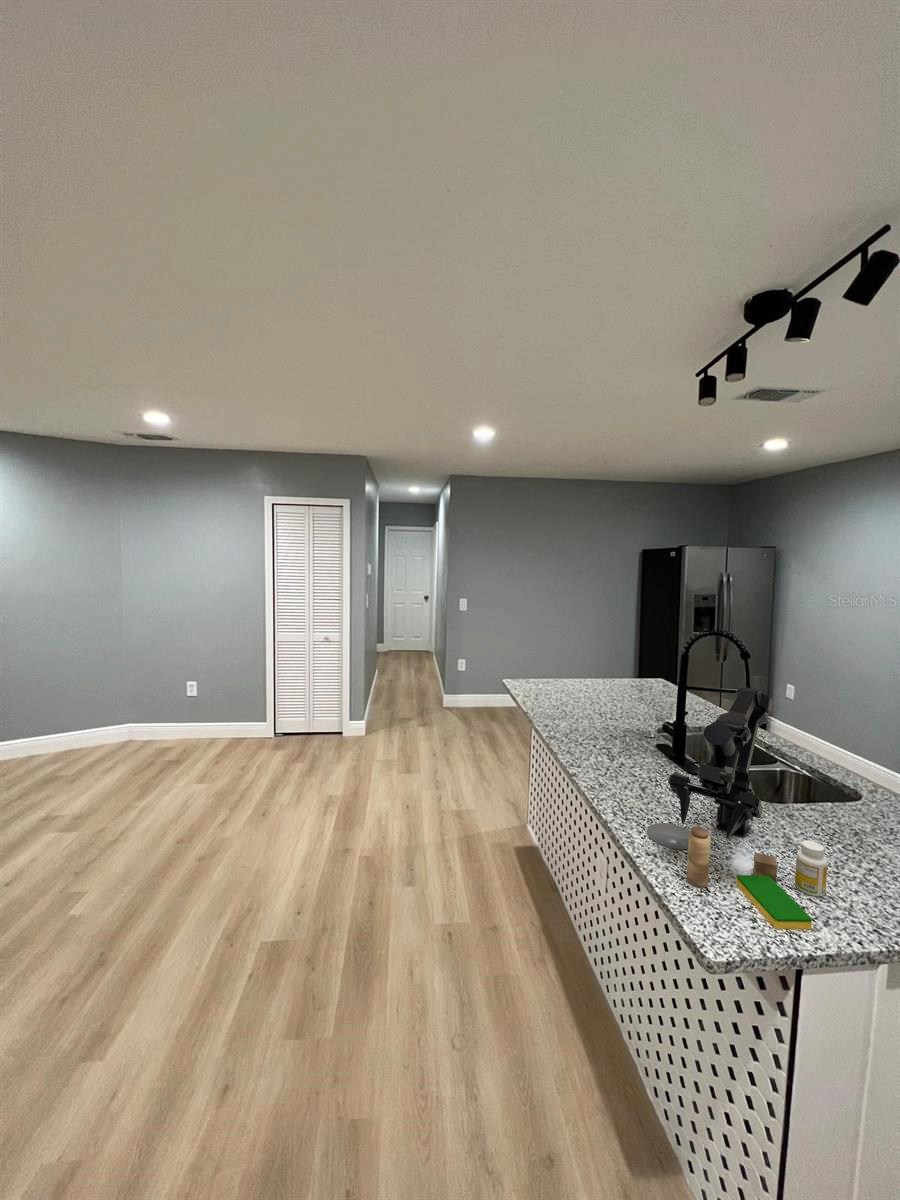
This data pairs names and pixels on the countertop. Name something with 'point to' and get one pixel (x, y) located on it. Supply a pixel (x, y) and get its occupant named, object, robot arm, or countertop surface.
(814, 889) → the supplement bottle
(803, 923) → the dish sponge
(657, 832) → the slate coaster
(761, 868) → the walnut block
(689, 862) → the brown cylinder
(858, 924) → the countertop surface
